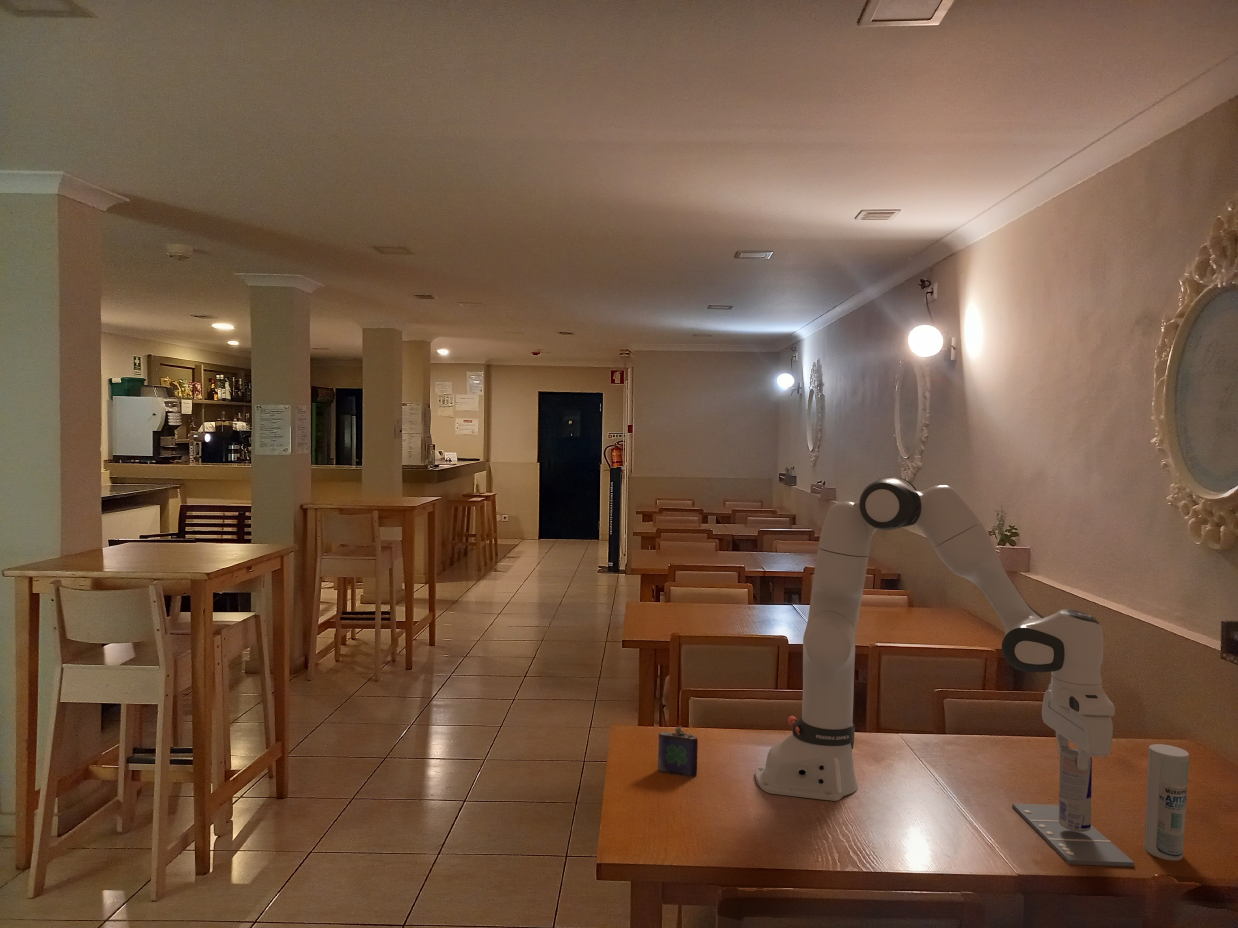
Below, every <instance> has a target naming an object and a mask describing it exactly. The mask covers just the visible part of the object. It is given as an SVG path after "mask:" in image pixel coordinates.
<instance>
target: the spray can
mask: <svg viewBox="0 0 1238 928" xmlns="http://www.w3.org/2000/svg"><path fill="white" fill-rule="evenodd" d="M1147 762H1148V763H1147V786H1146V787H1147V788H1146V804H1145V805H1146V807H1145V830H1144V850H1145V851H1146V852H1147V853H1148V854H1149V855H1152V856H1154V857H1156V858H1159V859H1161V860H1166V861H1167V860H1168V861H1180V860H1182V859H1183V857H1184V845H1185V844H1184V842H1185V829H1186V814H1187V813H1186V812H1187V797H1188V783H1189V782H1188V781H1189V766H1190V753H1189V752H1188V751H1187V750H1185V749H1184V748H1180V747H1177V746H1174V745H1170V744H1163V743H1162V744H1161V743H1156V744H1155V743H1153V744H1150V745H1149V746H1148V761H1147Z"/></svg>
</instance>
